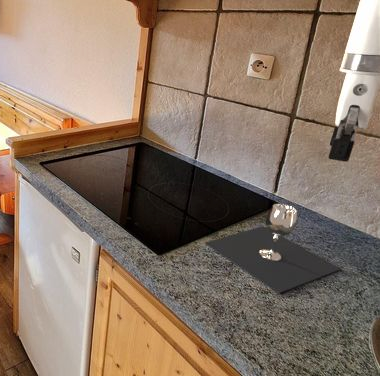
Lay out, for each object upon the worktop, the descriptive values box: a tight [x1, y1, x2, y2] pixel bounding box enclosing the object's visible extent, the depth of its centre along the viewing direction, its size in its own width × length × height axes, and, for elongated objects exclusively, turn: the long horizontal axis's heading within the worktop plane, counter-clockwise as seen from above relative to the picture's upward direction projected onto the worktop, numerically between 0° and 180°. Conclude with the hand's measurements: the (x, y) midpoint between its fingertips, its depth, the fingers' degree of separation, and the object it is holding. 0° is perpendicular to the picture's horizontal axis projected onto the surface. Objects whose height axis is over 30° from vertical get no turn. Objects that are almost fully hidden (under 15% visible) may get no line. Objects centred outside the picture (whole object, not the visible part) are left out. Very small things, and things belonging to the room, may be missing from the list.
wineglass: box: [260, 203, 298, 261], centre depth 90 cm, size 6×6×12 cm
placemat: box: [204, 225, 342, 295], centre depth 93 cm, size 20×20×1 cm
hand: (338, 153), depth 81 cm, fingers open, 9 cm apart
